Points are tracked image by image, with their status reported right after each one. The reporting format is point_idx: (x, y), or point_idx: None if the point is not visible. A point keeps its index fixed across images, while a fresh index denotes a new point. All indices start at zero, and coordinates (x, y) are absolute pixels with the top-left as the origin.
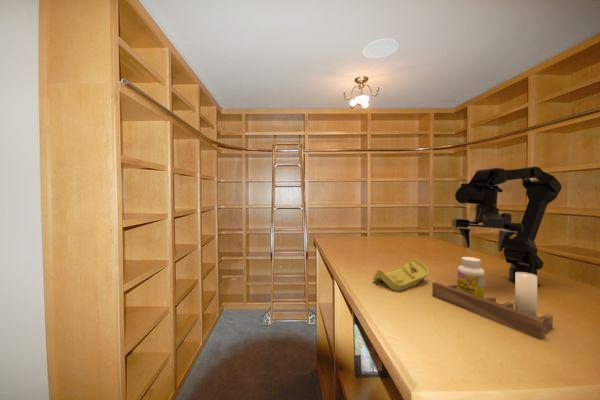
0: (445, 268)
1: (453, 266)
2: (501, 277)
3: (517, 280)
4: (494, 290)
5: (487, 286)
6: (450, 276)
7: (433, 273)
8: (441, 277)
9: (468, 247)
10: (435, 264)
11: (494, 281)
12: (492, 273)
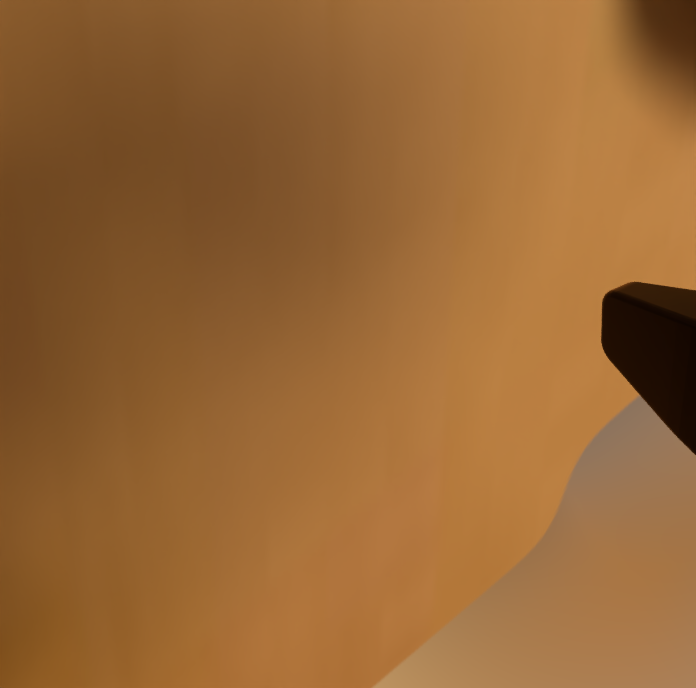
0: (453, 513)
1: (396, 608)
2: (22, 626)
3: None
4: (23, 126)
5: (109, 233)
6: (429, 321)
7: (548, 307)
8: (500, 233)
9: (632, 286)
10: (512, 554)
11: (65, 459)
12: (109, 673)
